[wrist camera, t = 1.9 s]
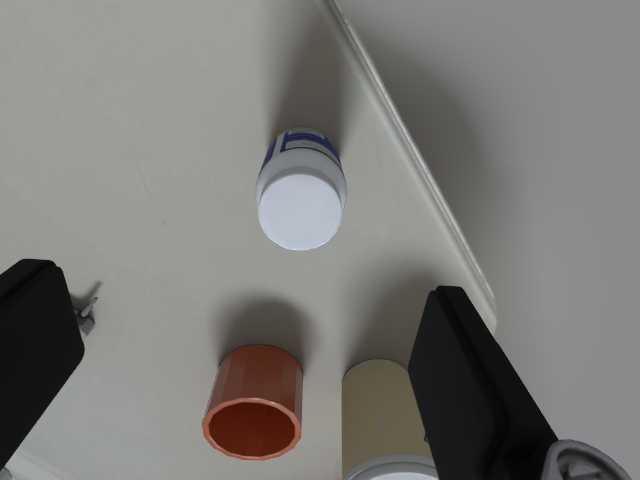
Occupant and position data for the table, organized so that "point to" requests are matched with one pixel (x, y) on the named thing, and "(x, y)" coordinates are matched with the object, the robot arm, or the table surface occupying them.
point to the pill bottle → (301, 190)
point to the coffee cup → (383, 425)
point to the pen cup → (255, 404)
